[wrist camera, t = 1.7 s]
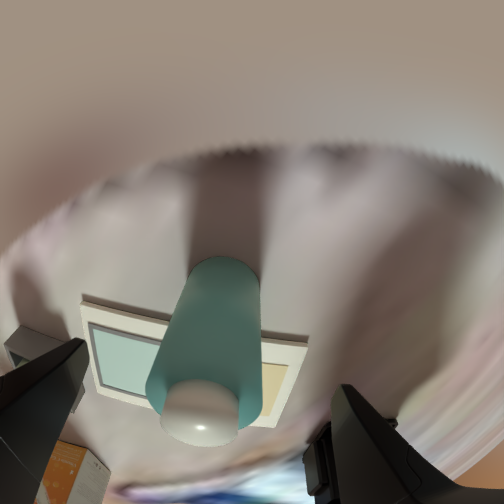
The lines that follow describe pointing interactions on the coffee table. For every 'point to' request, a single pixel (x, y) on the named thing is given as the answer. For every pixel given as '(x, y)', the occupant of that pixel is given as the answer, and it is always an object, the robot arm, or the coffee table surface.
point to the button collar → (33, 350)
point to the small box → (73, 477)
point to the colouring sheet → (145, 350)
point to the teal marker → (210, 356)
